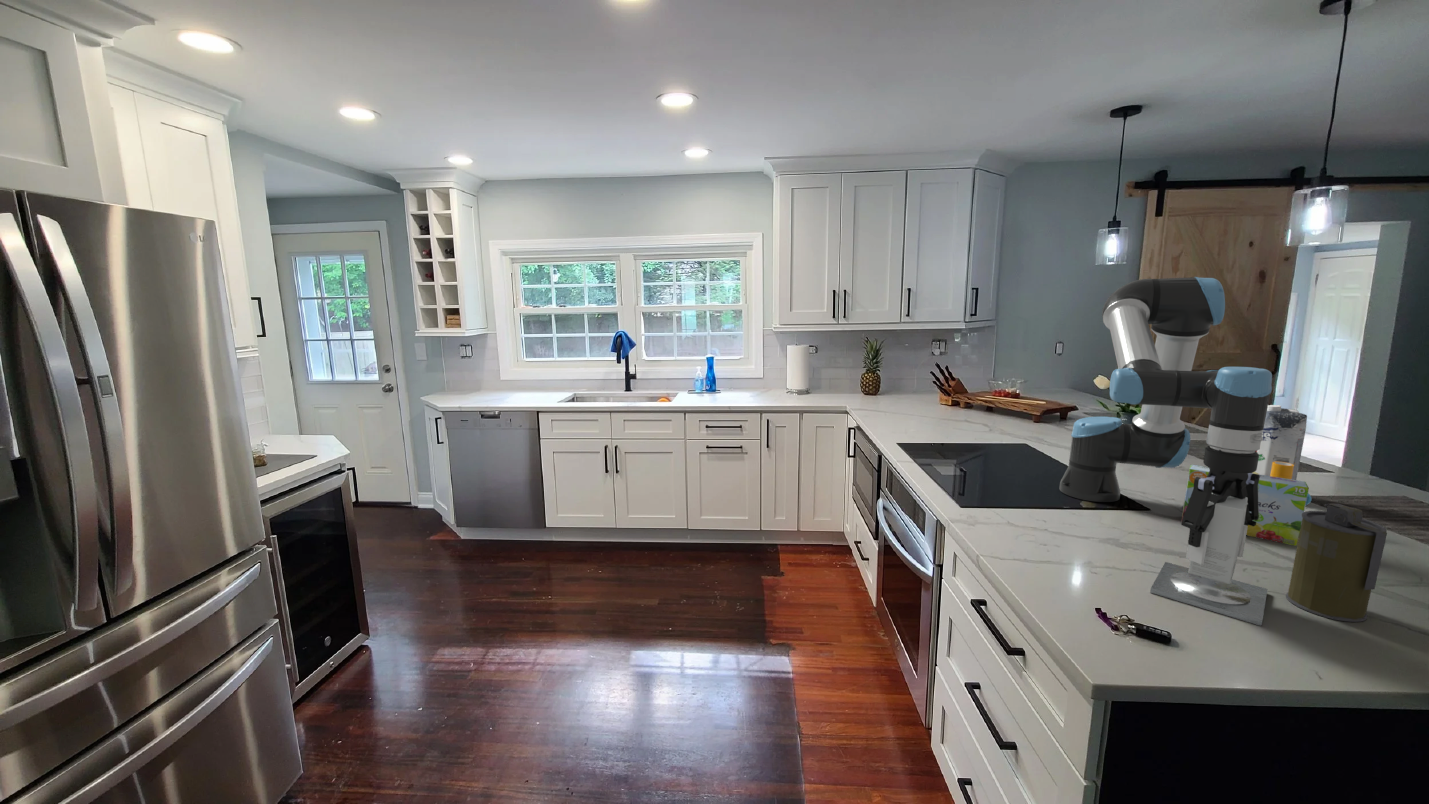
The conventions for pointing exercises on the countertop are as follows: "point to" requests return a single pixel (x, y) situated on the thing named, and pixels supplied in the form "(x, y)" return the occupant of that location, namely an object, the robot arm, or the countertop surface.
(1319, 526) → the canister
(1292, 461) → the juice carton
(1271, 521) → the snack box
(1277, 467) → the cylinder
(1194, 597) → the flange plate
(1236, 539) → the skincare box
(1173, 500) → the countertop surface
